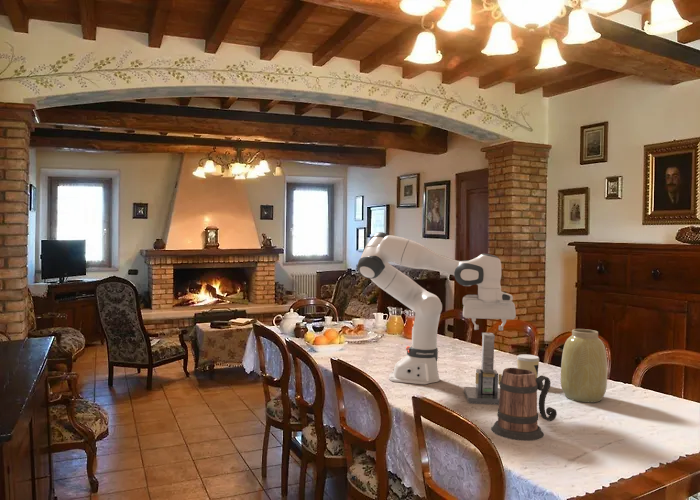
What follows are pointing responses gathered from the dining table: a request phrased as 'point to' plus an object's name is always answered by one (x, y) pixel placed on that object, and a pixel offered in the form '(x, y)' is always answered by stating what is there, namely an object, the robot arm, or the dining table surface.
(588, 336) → the vase
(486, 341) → the column
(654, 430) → the dining table surface
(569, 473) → the dining table surface
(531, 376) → the tankard
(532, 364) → the coffee cup
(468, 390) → the stand base
